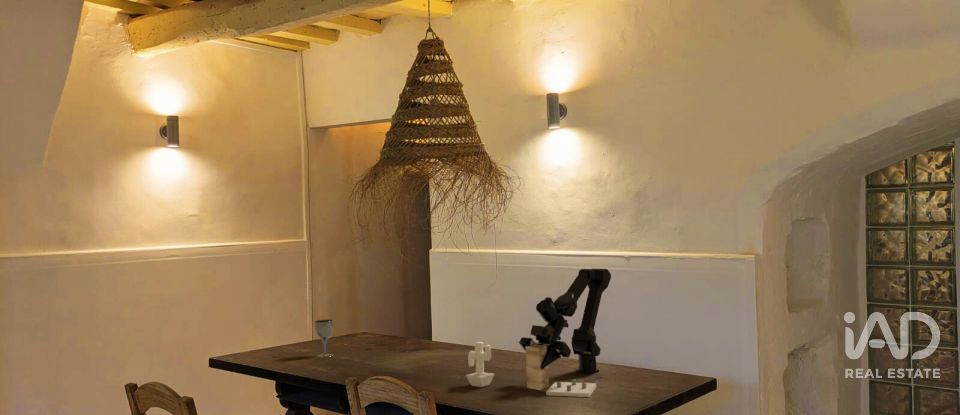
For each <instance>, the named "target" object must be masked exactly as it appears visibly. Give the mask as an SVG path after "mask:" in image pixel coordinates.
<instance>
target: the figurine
mask: <svg viewBox="0 0 960 415" xmlns="http://www.w3.org/2000/svg"><path fill="white" fill-rule="evenodd" d="M474 344H475V345H474V350H469V352H468V355H467V358H468V359H467V361H468V366H469V367H474V366H475V372H473V373H470V374H469V373H468V374H466V375H465V377H466V379H467V380H468V382H469V383H470V385H471V387H478V388H484V387H487V386H489V385H490V384H491V382H492V381H493V378H494V376H495V373H493V372H491V373H490V372H485V362H489V361H490V360H491V359H492V347H491V345H490V344H486V345H484V342H483V341H475V342H474ZM484 346H485V347H484Z"/></svg>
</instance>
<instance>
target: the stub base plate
mask: <svg viewBox="0 0 960 415" xmlns="http://www.w3.org/2000/svg"><path fill="white" fill-rule="evenodd" d="M596 388H597V383H595V382H594V383H593V382H592V383H591V382H577V379H575V378H574V379H571V382H566V381H555V382H554V383H553V384H551V386H549V387H548V389H547V390H546V391H545V394H546V396H555V397H578V398H590V396H592V393H593V392H594V391H595V390H596Z"/></svg>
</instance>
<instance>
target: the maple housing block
mask: <svg viewBox="0 0 960 415" xmlns="http://www.w3.org/2000/svg"><path fill="white" fill-rule="evenodd" d="M546 353H547V346H544V345H537V344H534V345H531V346H527V347H526V351H525V361H526V364H525V368H526V389H531V390H538V391H540V390H544V389H547V388H550V385H549V365H548V366H547V367H545V368H544V369H541V364H542V362H543V360H544V358H545V355H546Z"/></svg>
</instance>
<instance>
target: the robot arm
mask: <svg viewBox="0 0 960 415" xmlns="http://www.w3.org/2000/svg"><path fill="white" fill-rule="evenodd" d="M611 279H612V274H611V272H610V270H608V269H607V268H594V267H593V268H582V269H579V270H578V274H577V276H576V277H575V279H574V281H573V282H572V283H571V285H570V286H569V288H568V289H567V291H566V292H565V293H563V294H561V295H560V296H558V297H557V298H556V299H555V300H554V301H553V298H552V297H550V296H548V297H547V296H546V297H545V298H544V299H542V300H541V301H540V302H538V303H537V304H536V307H535V309H536V312H537V313H538V314H539V316H540V317H541V318H542V319H543V321H544V322H545V323H546V324H545V326H544V325H543V326H542V325H534V324H533V325H531V330H530V334H529V335H531V336H534V337H535V340H536V341H537V342H536V341H534V339H533V338H532V337H524V336H523V337H521V338H520V340H519V342H518V343H519V345H520V347H521V348H522V349H523V350H524V351H525V352H526V347H527V346H531V345H534V344H537V345H544V346H547V353H546V355H545V358H544V360H543V362H542V364H541V369H544V368H545V367H547V366H548V367H549V366H550V364H552V363H554V362H555V361H557V360H558V359H561V358H569V357H570V356H571V354H572V352H573V355H578V357H577V358H578V368H577V369H575V372H579V373H583V374H591V373H598V372H600V369H598V368H597V359H596V358H597V357H599V356H600V355H601V350H602V349H601V347H600V346H599V345H598V343H597V336H596V333H595V326H596V321H597V317H598V313H599V309H600V304H601V300H602V295H603V293H604V292H605V291H606V289H608V287H609V284H610V282H611ZM587 286H588V294H587V298H586V301H585V306H584V310H583V315H582V319H581V322H580V326H579V327H578V328H574V329H573V333H572V337H571V347H572V350H571V348H570V347H569V345H568V344H567V343H566V342H565V341H561V339H562V337H561V334H562V332H563V330H564V328H569V323H568V319H565V317H569V318H571V317H573V316H574V315H575V314H576V311H577V308H578V301H579V299H580V298H581V296H582V294H583V293H584V291H585V290H586V289H587Z"/></svg>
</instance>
